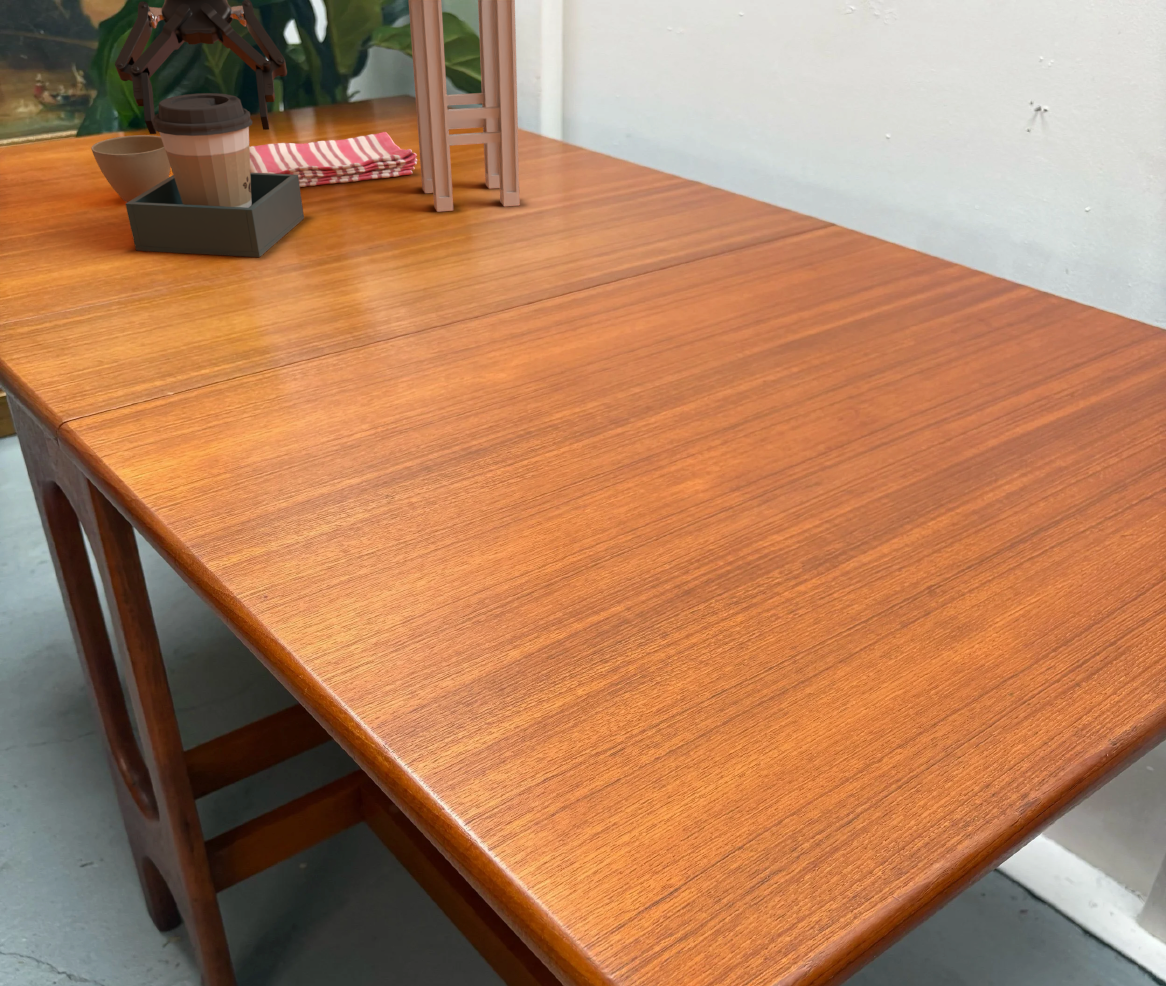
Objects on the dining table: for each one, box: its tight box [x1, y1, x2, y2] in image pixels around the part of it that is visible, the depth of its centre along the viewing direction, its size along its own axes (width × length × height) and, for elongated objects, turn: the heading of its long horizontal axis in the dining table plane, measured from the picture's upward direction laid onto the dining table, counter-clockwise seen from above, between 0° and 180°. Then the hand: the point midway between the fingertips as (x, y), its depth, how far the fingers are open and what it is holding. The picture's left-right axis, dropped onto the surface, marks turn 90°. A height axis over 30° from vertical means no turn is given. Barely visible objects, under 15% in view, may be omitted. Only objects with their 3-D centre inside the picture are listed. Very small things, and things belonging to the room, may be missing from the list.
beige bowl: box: [90, 134, 171, 203], centre depth 148 cm, size 10×10×7 cm
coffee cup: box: [153, 92, 253, 208], centre depth 134 cm, size 11×11×15 cm
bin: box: [125, 172, 305, 258], centre depth 137 cm, size 16×16×6 cm
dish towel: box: [249, 131, 418, 188], centre depth 163 cm, size 17×23×4 cm
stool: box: [408, 0, 521, 213], centre depth 142 cm, size 16×16×35 cm
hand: (208, 125), depth 136 cm, fingers open, 13 cm apart
